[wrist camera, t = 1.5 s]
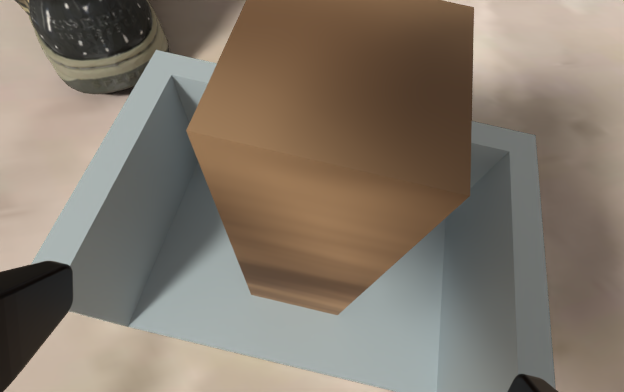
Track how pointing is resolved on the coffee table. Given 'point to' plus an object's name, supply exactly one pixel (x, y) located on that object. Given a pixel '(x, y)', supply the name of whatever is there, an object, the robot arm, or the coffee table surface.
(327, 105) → the walnut block
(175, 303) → the crate
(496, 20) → the coffee table surface
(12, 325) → the robot arm
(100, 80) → the boot
